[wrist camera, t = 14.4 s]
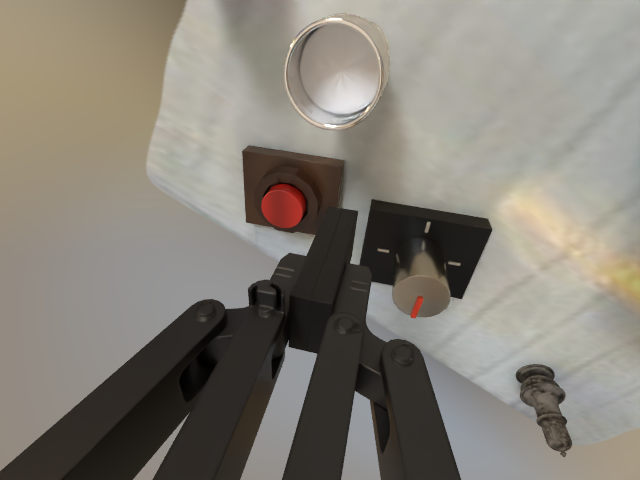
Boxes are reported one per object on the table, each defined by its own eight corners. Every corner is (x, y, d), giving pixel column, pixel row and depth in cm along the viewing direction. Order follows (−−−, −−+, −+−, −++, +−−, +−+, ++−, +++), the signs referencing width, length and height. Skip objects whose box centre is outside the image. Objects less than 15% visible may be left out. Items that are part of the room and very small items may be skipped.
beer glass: (404, 70, 34) (405, 103, 21) (343, 104, 37) (313, 150, 24) (375, -4, 31) (356, -15, 19) (311, 40, 34) (259, 54, 22)
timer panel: (488, 218, 40) (492, 230, 38) (459, 286, 47) (461, 300, 44) (371, 199, 42) (370, 209, 40) (359, 267, 48) (356, 279, 46)
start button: (307, 187, 39) (303, 194, 37) (305, 223, 42) (301, 231, 40) (266, 180, 40) (260, 186, 38) (266, 216, 42) (261, 224, 41)
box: (344, 160, 40) (339, 173, 37) (335, 230, 46) (330, 247, 42) (248, 145, 42) (235, 156, 38) (251, 215, 47) (240, 230, 44)
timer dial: (401, 231, 41) (400, 271, 35) (450, 242, 40) (459, 285, 34) (388, 269, 44) (386, 312, 38) (434, 279, 44) (439, 325, 37)
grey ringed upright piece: (506, 371, 54) (529, 450, 44) (543, 358, 51) (577, 440, 41) (526, 390, 55) (552, 471, 45) (564, 379, 52) (601, 464, 42)
